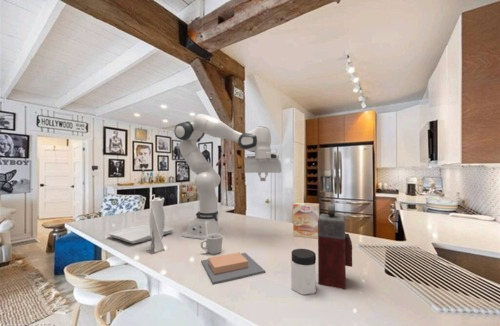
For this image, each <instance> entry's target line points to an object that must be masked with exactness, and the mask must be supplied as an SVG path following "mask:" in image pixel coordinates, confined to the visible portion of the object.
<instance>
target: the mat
mask: <svg viewBox="0 0 500 326" xmlns="http://www.w3.org/2000/svg"><path fill="white" fill-rule="evenodd" d="M240 254H241V255H242V256H243V257H245V258H246V259H247V260H248V268H243V269H238V270H233V271H228V272H224V273H219V274H214V273H213V271H212V269H211V268H210V266H209V264H208V259H203V260H200V261H201V262H200V263H201V265H202V266H203V268H204V270H205V273H206V274H207V277H208V278H209V279H210V282H211V283H212V285H216V284H221V283H226V282H230V281H235V280H239V279H244V278H247V277H252V276H257V275H262V274H266V270H265V269H264V268H263V267H262V266H260V264H258V263H257V262H256V261H255V260H254V259H253V257H251V256H249V255H248V253H247V252H242V253H240Z"/></svg>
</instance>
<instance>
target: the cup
mask: <svg viewBox="0 0 500 326" xmlns="http://www.w3.org/2000/svg"><path fill="white" fill-rule="evenodd" d="M223 237H224V236H223V234H221V233H220V234H209V235H207V236H206V239H201V242H200V248H201V249H202V250H205V251H207V253H209V254H211V255H216V254H220V253H221V251H222V246H223ZM204 243H205V244H206V245H205V247H204V246H203V245H204Z"/></svg>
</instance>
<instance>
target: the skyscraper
mask: <svg viewBox="0 0 500 326" xmlns="http://www.w3.org/2000/svg"><path fill="white" fill-rule="evenodd" d="M152 197H153V199H152ZM149 203H150V213H149V223H148V224H149V225H150V236H151V239H150V240H151V243H150V246H149V249H146V250H145V251H146V252H147V253H149V254H150V255H155V254H158V253H162V252H165V250H166V249H165V248H164V244H163V236H164V235H163V232H164V227H166V225H165V223H166V222H165V219H166V218H165V211H164V210H165V209H164V203H165V197H162V198H161V197H156V194H152V195H151V196H150V198H149Z"/></svg>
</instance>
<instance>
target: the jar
mask: <svg viewBox="0 0 500 326" xmlns="http://www.w3.org/2000/svg"><path fill="white" fill-rule="evenodd" d="M316 261H317V257H316V253H315V251H313V250H311V249H307V248H295V249H293V250H291V262H290V265H291V266H290V267H291V268H290V269H291V270H290V272H291V273H290V274H291V275H290V277H291V283H290V284H291V285H290V286H291V290H293V292H294V291H295V292H297V293H298V294H301V295H303V296H304V295H311V294H315V293H317V292H316V290H317V289H316V283H317V282H316V278H317V276H316Z"/></svg>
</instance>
